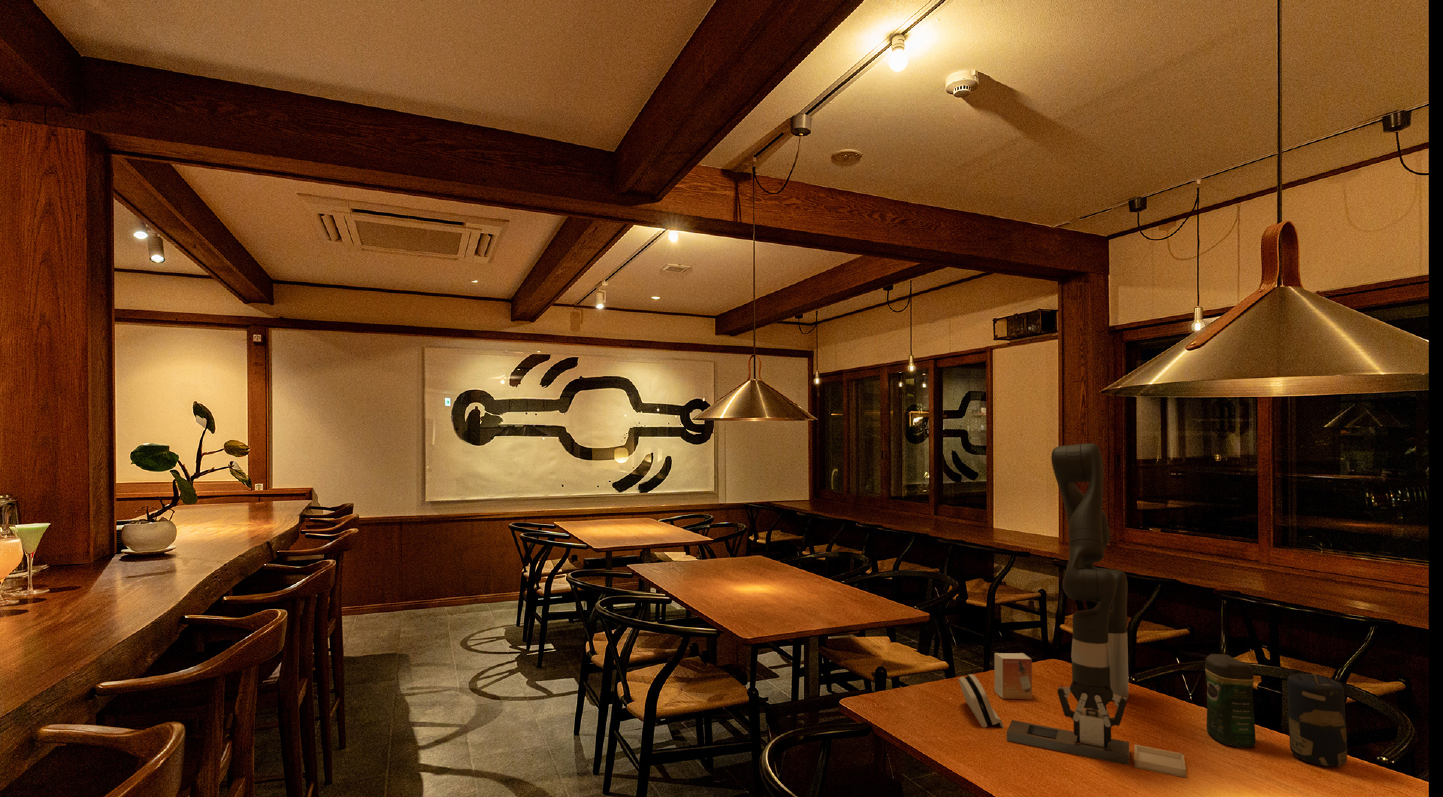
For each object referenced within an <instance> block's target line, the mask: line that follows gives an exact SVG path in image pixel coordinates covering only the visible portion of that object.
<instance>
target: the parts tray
mask: <svg viewBox="0 0 1443 797" xmlns="http://www.w3.org/2000/svg"><path fill="white" fill-rule="evenodd" d="M1134 768H1137V769H1141V770H1146V771H1149V772H1150V771H1151V772H1156V773H1161V774H1165V775H1171V776H1174V777H1175V776H1176V777H1182V778H1185V779H1187V767H1186V762H1185V756H1184V753H1182V752H1176V751H1171V750H1166V749H1159V748H1155V747H1151V746H1144V745H1139V744H1134Z"/></svg>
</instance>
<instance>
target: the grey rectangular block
mask: <svg viewBox="0 0 1443 797" xmlns="http://www.w3.org/2000/svg"><path fill="white" fill-rule="evenodd" d="M1079 744H1081V745H1087V746H1092V747H1097V748H1102V749H1106V748H1105V744H1104V717H1102V716H1101V714H1100V711H1099V710H1095V709H1093V708H1083V711H1082V713H1080V743H1079Z"/></svg>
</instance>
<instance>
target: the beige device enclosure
mask: <svg viewBox="0 0 1443 797" xmlns="http://www.w3.org/2000/svg"><path fill="white" fill-rule="evenodd" d="M958 683H959V685H960V689H961V691H962V694H963V696H964V700H965V702H966V704H967V706H968V707H969V709H970V711H971V710H972V711H971V712H972V713H974V714H973V715H974V717H975V718H976V720H977V721H978V723H979V724H980V726H981V727H982V728H989V727H988V726H989V724H990V725H993V726H995V725H997V724H999V726H1000V727H1001V729H1004V728H1005V726H1004V724H1003V722H1002V719H1001V718H1000V717H999V715H998V714H997V713H996V711H995V710H994V708H993V707H992V706H991V703H990V699H989V697H988V695H987V693H986V690H985V688H984V686H982V684H981V682H980V680H979V679H978V678H977V676H976V675H975V674H971V673H970V674H967V675H966V677H965V676H961V677H959V678H958Z"/></svg>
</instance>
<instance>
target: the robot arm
mask: <svg viewBox="0 0 1443 797" xmlns="http://www.w3.org/2000/svg"><path fill="white" fill-rule="evenodd" d="M1050 458H1051V465H1052V470H1053V474H1054V476H1055V480H1056V483H1057V486H1058V489H1059V491H1060V492H1059V493H1060V495H1061V497H1062V501H1063V505H1064V510H1065V516H1066V520H1067V525H1068V527H1067V528H1068V530H1067V531H1068V545H1069V546H1068V548H1069V549H1068V550H1069V553H1068V562H1067V565H1066V569H1065V571H1064V576H1063V579H1062V589H1063V591H1064V592H1063V593H1065V595H1066V596H1067V597H1068V598H1069V599H1070V600H1074V601H1084V602H1092V603H1096V605H1095V606H1094V607H1093V608H1090V609H1084V610H1082V609H1081V610H1077V611H1075V612H1073V615H1072V618H1071V619H1072V623H1071V624H1072V642H1071V655H1070V656H1071V675H1072V676H1071V683H1070V685H1069V686H1062V685H1060V686H1058V688H1057V695H1058V699H1059V702H1060V705H1061V708H1062V712H1063V714H1064V717H1066V718H1070V719H1071V720H1072V721H1073V731H1074V735H1075V736H1077V739H1080V713H1082V711H1083V709H1086V708H1093V709H1095V710H1098V711H1100V714H1101V716H1102V717H1104V744H1108V742H1110V741H1111V739H1112V727H1113V726H1117V727H1118V726H1120V725H1121V722H1122V719H1123V716H1124V712H1125V710H1126V706H1127V701H1128V699H1129V653H1128V650H1129V649H1128V647H1129V646H1128V594H1129V592H1128V590H1129V587H1128V586H1129V584H1128V583H1129V582H1128V579H1127V575H1126V573H1125V572H1124V571H1123V570H1120V569H1119V570H1118V569H1111V568H1102V567H1096V566H1094V564H1095V563H1098V562H1100V561H1102V560H1103V559H1104V557H1105V556H1104V555H1105V549H1106V548H1107V546H1108V544H1109V543H1110V540H1111V530H1110V526H1109V522H1108V518H1107V514H1106V513H1105V511H1104V510H1103V500H1104V477H1105V476H1104V474H1105V473H1104V471H1105V470H1104V461H1103V456H1102V452H1101V449H1100V447H1099V445H1098V444H1096V443H1078V444H1068V445H1060V446H1056V447H1053V449H1052V451H1051V455H1050ZM1085 482H1088V486H1087V490H1086V492H1085V493H1084V492H1082V491H1081V490H1080V489H1079V487H1078V486H1077V485H1076V483H1085ZM1070 693H1071V694H1072V696H1073V697H1074V698H1075V700H1076V701H1077V705H1076V707H1075V710H1071V706H1070V704H1069V700H1068V698H1069V696H1070ZM1111 701H1114V705H1115V707H1117V708H1116V711H1115V715H1114V717H1110V713H1109V711H1108V708H1107V705H1108V704H1109V703H1110V702H1111Z"/></svg>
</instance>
